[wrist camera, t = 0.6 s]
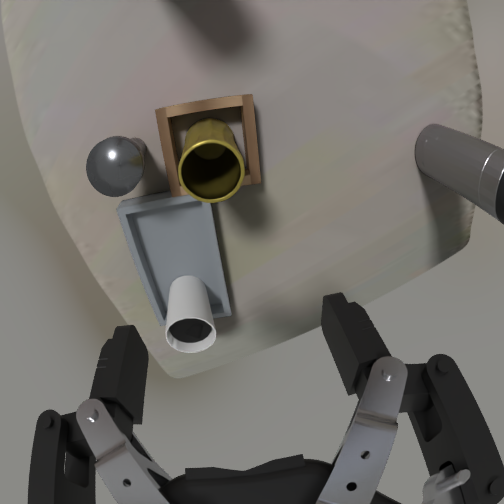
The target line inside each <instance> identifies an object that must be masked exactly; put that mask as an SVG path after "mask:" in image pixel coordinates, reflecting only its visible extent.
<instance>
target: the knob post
mask: <svg viewBox="0 0 504 504" xmlns="http://www.w3.org/2000/svg"><path fill="white" fill-rule="evenodd" d="M145 152H146V145H145V143H144V142H143V141H142V140H141V139H139V138H131V139H129V138H126V137H122V136H113V137H109V138H107V139H105V140H103V141H101V142H99V143H98V144H97V145H96V146H95V147H94V148H93V149H92V150H91V152H90V154H89V156H88V159H87V164H86V171H87V176H88V179H89V181H90V183H91V184H92V186H93V187H94V188H95V189H96V190H97V191H98V192H100V193H102V194H104V195H106V196H110V197H118V196H123V195H125V194H127V193H129V192H131V191H132V190H133V189H134V188H135V187H136V185H137V184H138V183H139V181H140V180H141V178H142V176H143V173H144V168H145V161H144V154H145Z"/></svg>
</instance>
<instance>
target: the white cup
mask: <svg viewBox="0 0 504 504" xmlns="http://www.w3.org/2000/svg"><path fill="white" fill-rule="evenodd" d="M215 339H216V329H215V325H214V321H213V316H212V312H211V308H210V303H209V299H208V294H207V290H206V287H205V284H204V282H203V281H202V280H200V279H199V278H197V277H194V276H182V277H179V278H177V279H176V280H174V281H173V282H172V284H171V286H170V292H169V301H168V311H167V322H166V340H167V342H168V343H169V344H170V346H171V347H173V348H175V349H176V350H178V351H182V352H186V353H196V352H199V351H203V350H205V349H207V348H208V347H210V346H211V345H212V344H213V342H214V341H215Z"/></svg>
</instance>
